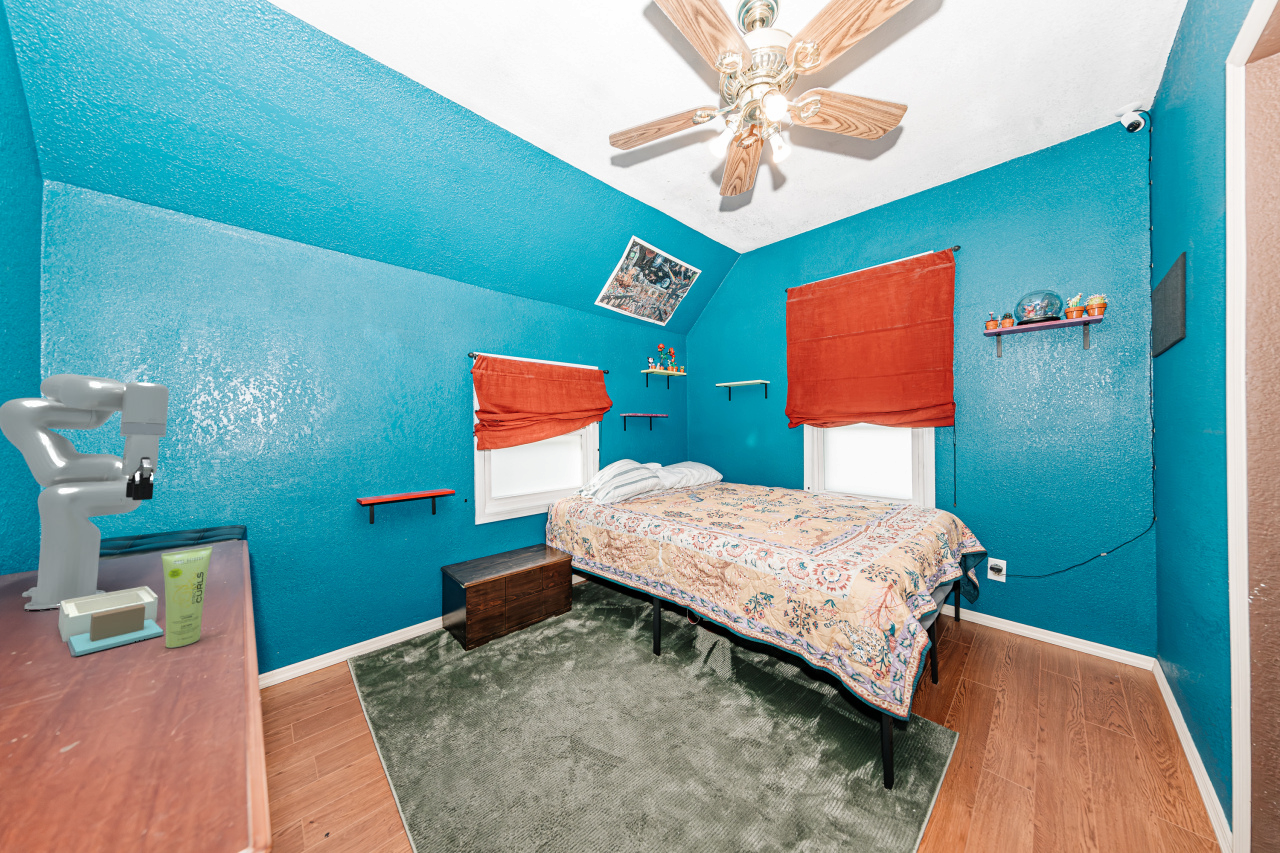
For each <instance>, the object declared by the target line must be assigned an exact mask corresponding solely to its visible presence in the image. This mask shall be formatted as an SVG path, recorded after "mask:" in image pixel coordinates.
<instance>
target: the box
mask: <svg viewBox="0 0 1280 853" xmlns="http://www.w3.org/2000/svg"><path fill="white" fill-rule="evenodd" d="M158 600H159V596H158V595H157V594H156V593H155V592H154V591H153V590H152V589H151V588H150V587H149V586H147V585H142V586H138V587H134V588H133V587H132V588H127V589H121V590H116V591H108V592H105V593H103V594H97V595H91V596H86V597H80V598H74V599H68V600H63V601H60V608H59V614H58V624H57V625H58V626H57V627H58V631H59V633H60V634H59V635H60V636H61V640H62V643H67V641H69V637H72V636H76V635H81V634H85V633H90V625H91V614H94V613H99V612H104V611H109V610H114V609H119V608H124V607H129V606H134V605H139V604H143V605H144V606H145V618H144V620H149V619H152V620H153V621H154V622H155V623H156V622H157V617H158V616H157V615H158V603H159V601H158Z"/></svg>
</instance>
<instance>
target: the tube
mask: <svg viewBox="0 0 1280 853" xmlns="http://www.w3.org/2000/svg"><path fill="white" fill-rule="evenodd" d="M213 549H214V547H213V546H206V547H200V548H199V547H198V548H194V549H185V550H180V551H173V552H166V553H165V552H164V553H161V556H160V557H161V562H162V570H163V579H164V592H165V593H164V594H165V595H164V596H165V647H166V648H169V649H172V648H179V647H184V646H188V645H191V644H194V643H196V642H197V641H199V640H200V639H201V632H202V618H203V610H204V602H205V600H204V599H205V594H206V593H205V592H206V585H207V579H208V571H209V567H210V561H211V557H212V554H213Z"/></svg>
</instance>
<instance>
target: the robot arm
mask: <svg viewBox="0 0 1280 853" xmlns="http://www.w3.org/2000/svg"><path fill="white" fill-rule="evenodd" d="M40 383H41V384H40V388H39V389H40V392H41V393H42V395H43V396H45V397H46V398H45V397H23V398H22V397H21V398H16V399H15V398H14V399H10V400H8V401H5V403H3V404H2V405H1V406H0V429H1V431H2V433H3V435H4V436H5V438H7V440H8V441H9V442H10V443H11V444H12V445H13V446H14V447H16V449H18V450H19V451H20V453H21V454H22V456H23V458H24V460H25V462H26V464H27V466H28V468H29V470H30V472H31V474H32V476H33V477H34V479H35V481H36V482H37V483H38V484H39V485H40V486H41V487H44V488H45V489H43V490H42V491H41V492H40V493H39V494H38V495H39V496H38V498H37V506H38V513H39V516H40V525H41V526H40V528H41V529H40V530H41V533H40V550H39V561H38V562H39V563H38V571H37V584H36V586H34V587H31V588H29V589H28V591H23V593H21V597H22V598H28V597H29V598H31V601H30V602H27V603H26V604H24V610H25V609H46V608H55V607H60V601H63V600H68V599H74V598H80V597H86V596H91V595H97V594H103V593H106V591H105V590H99V589H97V586H98V575H99V562H100V561H99V560H100V550H101V549H100V548H101V538H102V537H101V536H102V535H101V531H100V528H99V527H97V525H95V524H94V523H93V522H92V521H90V520H89V518H95V517H100V516H101V517H102V516H111V515H119V514H126V513H130V512H133V511H134V510H137V508H139V507H140V505H141V504H142V501H147V500H152V499H153V497H154V496H153V495H154V483H153V482H154V475H156V473H157V470H158V461H159V446H160V438H165V437H166V434H167V424H168V423H167V421H168V412H169V411H168V408H169V396H170V394H169V393H170V390H169V388H168V387H167V386H166V385H164V384H162V383H161V384H160V383H155V382H148V381H147V382H145V381H144V382H143V381H131V382H130V381H129V382H121V381H119V380H117V379H115V378H110V377H101V376H93V375H92V376H91V375H83V374H73V373H59V374H52V375H50V376H48V377H46V378H45V379H44V380H42V382H40ZM116 412H121V418H120V420H121V421H120V434H119V436H120V437H125V440H124V448H123V454H122V455H123V456H122V457H120V456H118V455H115V454H109V453H83V452H78V450H77V449H76V447H75V445H74V444H73V443H72V441H70V440H69V439H68V438H67V437H65V436H64V435H61V434H60V433H57V432H56V431H52V429H55V430H79V431H80V430H85V431H87V430H94V429H98V428H100V427H101V426H103V425H104V424H105V423H106V422H107V421H108V420H109V419H110V418H111V417H112V415H114V413H116Z"/></svg>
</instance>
